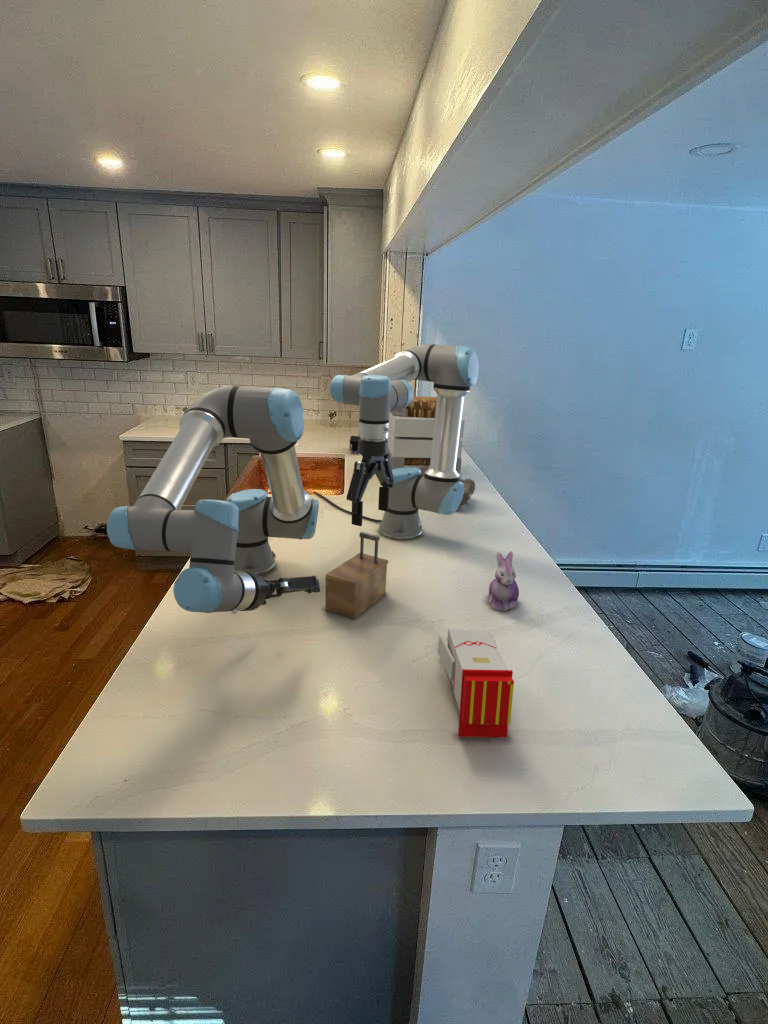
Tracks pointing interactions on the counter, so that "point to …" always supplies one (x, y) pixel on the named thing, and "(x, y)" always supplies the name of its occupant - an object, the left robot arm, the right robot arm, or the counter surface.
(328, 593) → the chest
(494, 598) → the figurine
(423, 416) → the white wooden crate
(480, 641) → the toy
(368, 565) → the door
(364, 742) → the counter surface
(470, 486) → the fossil
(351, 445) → the figurine character
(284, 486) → the left robot arm
